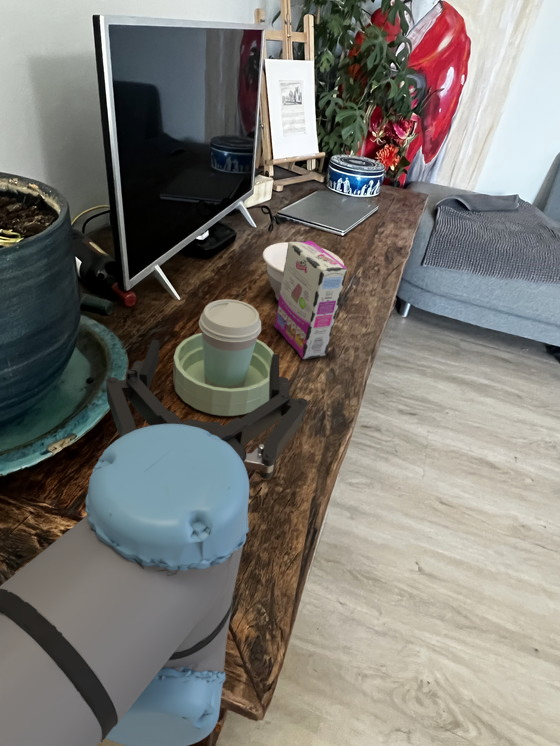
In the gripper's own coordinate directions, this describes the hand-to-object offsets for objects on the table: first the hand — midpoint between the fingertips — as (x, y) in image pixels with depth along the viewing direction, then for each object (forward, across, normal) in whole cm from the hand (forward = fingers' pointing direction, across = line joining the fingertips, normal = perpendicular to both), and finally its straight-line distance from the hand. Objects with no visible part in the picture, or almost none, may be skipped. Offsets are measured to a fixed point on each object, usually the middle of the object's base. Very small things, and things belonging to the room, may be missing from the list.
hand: (215, 356), depth 57 cm
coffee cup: (+12, +1, -13) cm, 18 cm away
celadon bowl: (+12, +1, -13) cm, 18 cm away
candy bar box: (+27, +13, -14) cm, 33 cm away
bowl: (+43, +13, -14) cm, 47 cm away
